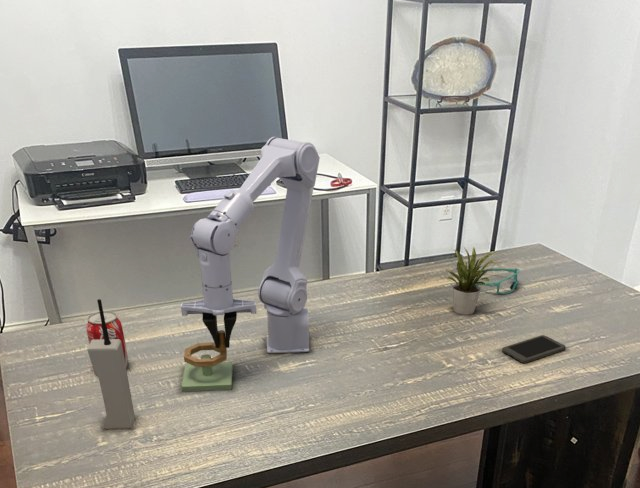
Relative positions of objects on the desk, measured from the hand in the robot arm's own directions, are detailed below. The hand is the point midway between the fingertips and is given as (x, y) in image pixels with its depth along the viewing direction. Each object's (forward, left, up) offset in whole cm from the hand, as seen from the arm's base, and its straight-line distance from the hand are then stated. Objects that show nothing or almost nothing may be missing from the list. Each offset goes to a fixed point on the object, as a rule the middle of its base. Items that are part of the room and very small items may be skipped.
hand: (222, 345), depth 139 cm
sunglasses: (-72, -47, -8) cm, 86 cm away
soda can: (+24, -6, -8) cm, 26 cm away
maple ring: (+4, 0, -2) cm, 4 cm away
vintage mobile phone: (+19, +16, -8) cm, 26 cm away
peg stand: (+4, 0, -8) cm, 8 cm away
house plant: (-61, -30, -8) cm, 68 cm away
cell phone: (-70, -7, -8) cm, 71 cm away
